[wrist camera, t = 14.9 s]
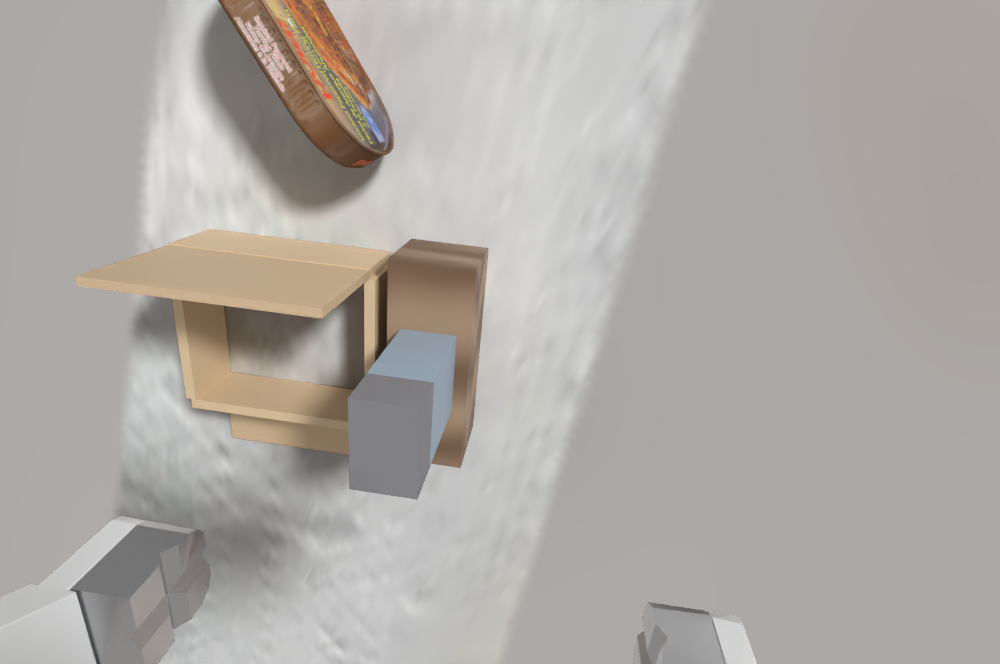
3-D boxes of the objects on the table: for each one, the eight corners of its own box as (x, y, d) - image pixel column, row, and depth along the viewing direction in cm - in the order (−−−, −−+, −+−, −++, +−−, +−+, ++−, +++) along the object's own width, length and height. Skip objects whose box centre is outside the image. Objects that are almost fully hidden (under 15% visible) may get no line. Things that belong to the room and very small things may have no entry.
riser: (411, 239, 42) (388, 258, 36) (488, 248, 41) (476, 269, 36) (405, 416, 48) (385, 456, 42) (472, 426, 47) (460, 467, 42)
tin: (408, 147, 39) (369, 156, 31) (373, 168, 40) (327, 182, 32) (285, -69, 35) (205, -120, 27) (249, -39, 36) (162, -81, 28)
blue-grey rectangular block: (400, 328, 38) (347, 398, 29) (456, 336, 38) (421, 408, 28) (398, 402, 40) (349, 488, 31) (451, 410, 40) (417, 499, 31)
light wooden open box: (206, 228, 43) (68, 273, 31) (396, 252, 42) (328, 308, 30) (230, 435, 51) (126, 534, 39) (391, 459, 50) (336, 569, 38)
